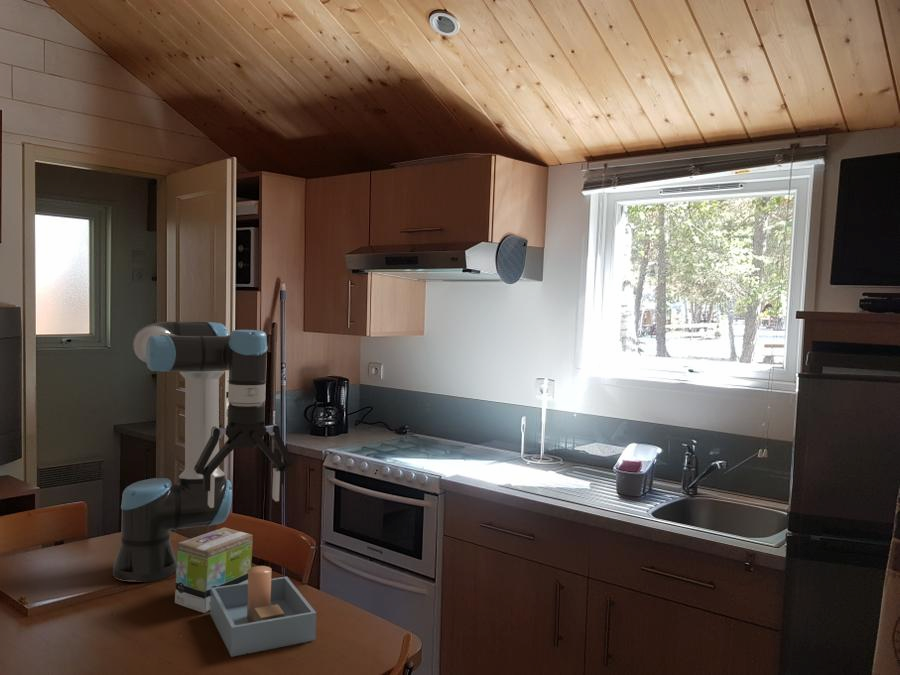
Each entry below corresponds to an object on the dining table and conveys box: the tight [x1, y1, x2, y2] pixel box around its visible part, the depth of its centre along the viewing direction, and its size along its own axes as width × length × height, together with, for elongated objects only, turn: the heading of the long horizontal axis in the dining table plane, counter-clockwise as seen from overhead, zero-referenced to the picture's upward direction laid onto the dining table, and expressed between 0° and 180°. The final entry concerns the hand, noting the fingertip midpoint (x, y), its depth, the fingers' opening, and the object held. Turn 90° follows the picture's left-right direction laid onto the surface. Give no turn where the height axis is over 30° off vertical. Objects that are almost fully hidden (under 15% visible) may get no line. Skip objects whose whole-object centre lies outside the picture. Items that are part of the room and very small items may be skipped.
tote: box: [209, 576, 317, 658], centre depth 161 cm, size 22×18×6 cm
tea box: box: [174, 527, 254, 614], centre depth 175 cm, size 15×10×15 cm, turn 153°
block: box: [254, 604, 285, 622], centre depth 156 cm, size 5×5×5 cm
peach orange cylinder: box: [247, 565, 273, 623], centre depth 163 cm, size 5×5×11 cm
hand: (243, 502), depth 155 cm, fingers open, 13 cm apart
